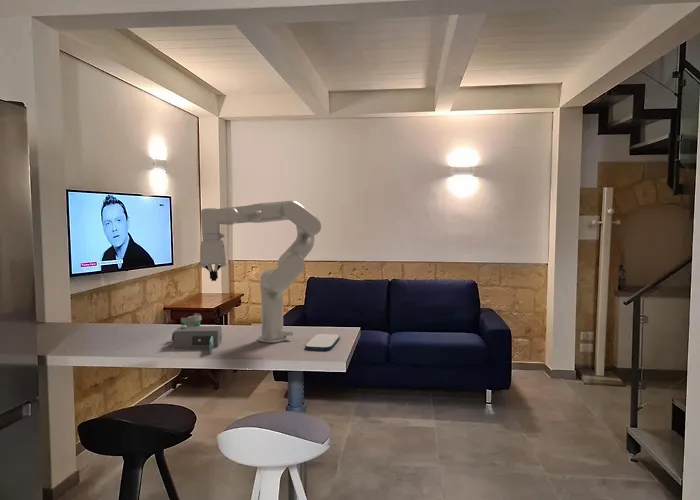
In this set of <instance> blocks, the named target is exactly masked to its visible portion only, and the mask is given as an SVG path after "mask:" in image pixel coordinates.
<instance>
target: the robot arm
mask: <svg viewBox="0 0 700 500" xmlns="http://www.w3.org/2000/svg"><path fill="white" fill-rule="evenodd" d="M200 220H201V221H200V222H201V238H202V240H201V241H200V246H199V247H200V249H199V262H200V264H199V267H200V268H202V269H203V268H204V269H206V271H208V272H209V279H210V280H211V282H216V281H217V279H218V277H219V276H218V271H219V270H220V269H221V268H224V267H227V263H226V261H227V260H226V258H227V257H226V251H225V244H224V240H222V238H225V234H224V233H221V225H224V226H225V225H227V226H231V225H235V224H244V223H245V224H246V223H255V224H256V223H257V224H259V223H263V224H264V223H270V222H279V221H280V222H281V221H290V222H291V223H293V224H294V225H295V227H296V232H297V234H296V238H295V240H294V241H293V242H292V244H291V245H289V246H288V248H287V249H286V250H285V251H284V252H283V253H282V254H281V255H280V257H279V258H278V261H277V265H278V266H277V267H276V268H275V269H274V268H270V269H269V268H268V269H266V270H264V271H263V272H262V274H261V275H260V278H259V286H260V295H261V305H260V306H261V335H259V336H258V339H257V340H258V341H259V342H262V343H268V344H269V343H270V344H271V343H280V342H284V341H287V336H290V337H291V336H293V337H294V331H293V330H292V331H291V330H285V328H284V296H283V292H285V291H286V290H287V289H288V288H289V287H290V286H291V285H292V284H293V282H294V281H296V279H297V278H298V277H299V276H300V275H301V274H302V272H303V271H304V269H305V263H306V262H305V258H306V257H307V256H308V255H309V253H310V252H311V251H312V249H313V248H314V245H315V236H316V235H318V234H319V233H320V232H321V230H322V223H321V220H320V219H319V218H318V217H317V216H315V215H314V214H313V213H311V212H310V211H309V210H308V209H307V208H306V207H304V206H303V205H302V204H301V203H299V202H298V201H295V200H284V201H283V200H282V201H281V200H280V201H273V202H272V201H271V202H258V203H253V204H248V205H241V206H230V207H229V206H228V207H221V208H215V207H211V208H209V207H208V208H202V209H201V210H200ZM212 265H214V269H213V266H212Z"/></svg>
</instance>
